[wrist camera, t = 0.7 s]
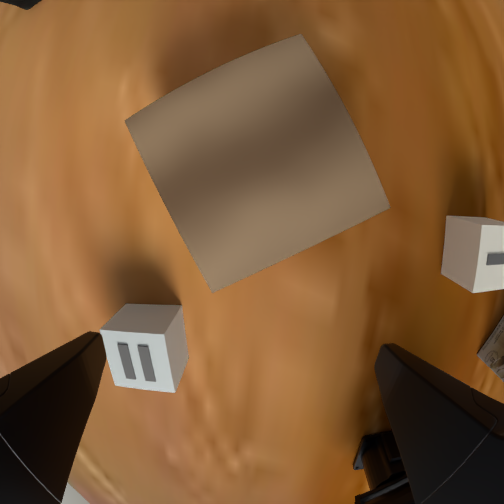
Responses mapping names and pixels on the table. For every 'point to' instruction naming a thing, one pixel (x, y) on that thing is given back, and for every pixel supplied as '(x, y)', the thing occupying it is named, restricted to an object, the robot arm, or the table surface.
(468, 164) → the table surface
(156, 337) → the grey numeral block
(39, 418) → the robot arm
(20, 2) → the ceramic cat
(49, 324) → the table surface
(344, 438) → the table surface
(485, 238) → the offwhite numeral block
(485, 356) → the coffee box
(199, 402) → the table surface
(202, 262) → the plain walnut block
